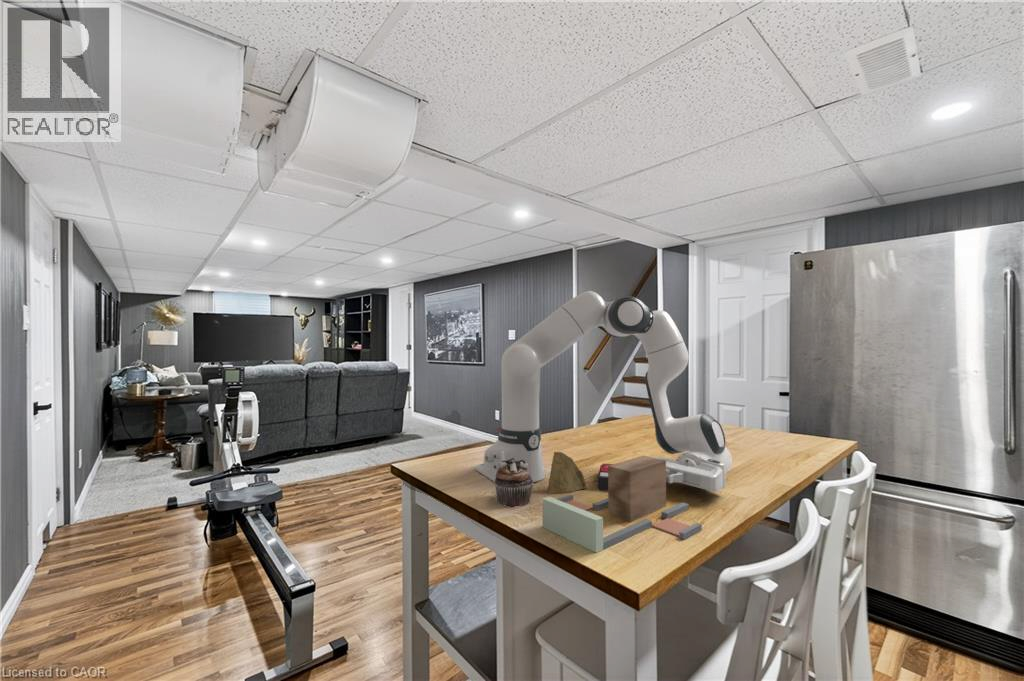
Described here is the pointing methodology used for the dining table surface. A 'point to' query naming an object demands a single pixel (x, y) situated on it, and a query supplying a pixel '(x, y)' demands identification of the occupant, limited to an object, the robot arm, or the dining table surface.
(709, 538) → the dining table surface
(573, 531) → the green panel rail frame
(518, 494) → the cupcake
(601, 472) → the calculator
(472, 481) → the dining table surface
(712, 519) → the dining table surface
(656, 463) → the walnut block
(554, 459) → the rock
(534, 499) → the dining table surface
